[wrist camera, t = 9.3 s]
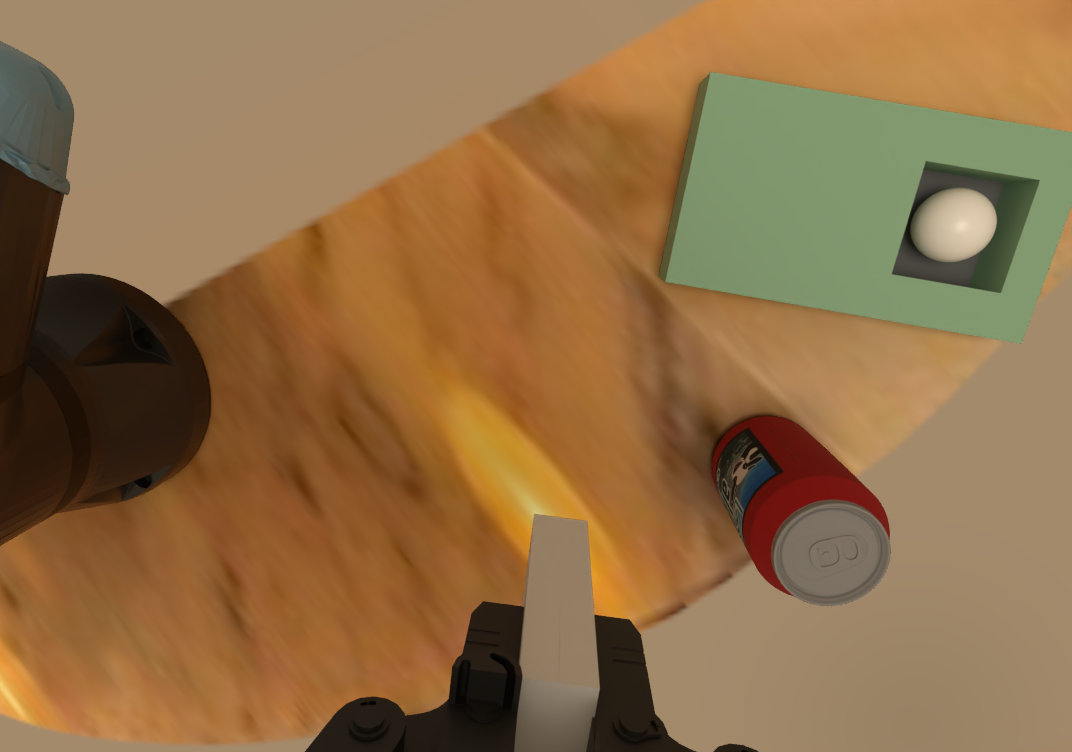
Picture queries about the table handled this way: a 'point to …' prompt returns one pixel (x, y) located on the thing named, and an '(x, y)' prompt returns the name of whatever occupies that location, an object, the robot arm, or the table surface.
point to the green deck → (862, 206)
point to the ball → (953, 225)
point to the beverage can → (801, 512)
